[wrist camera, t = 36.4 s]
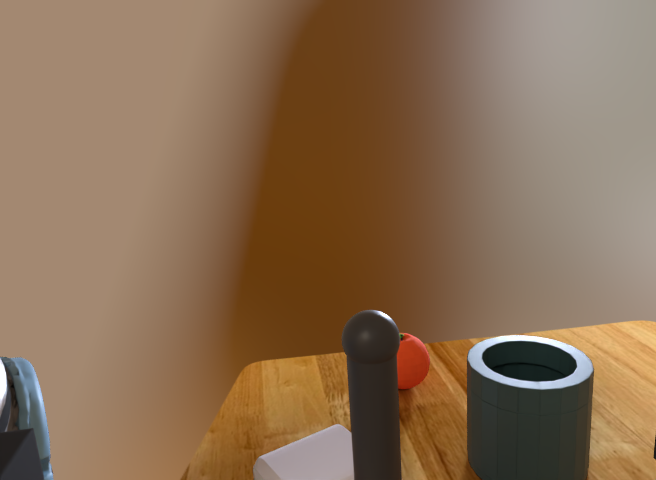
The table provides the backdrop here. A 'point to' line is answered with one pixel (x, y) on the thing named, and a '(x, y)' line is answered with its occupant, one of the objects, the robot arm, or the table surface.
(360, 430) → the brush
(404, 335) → the clementine
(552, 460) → the dark grey pipe sleeve
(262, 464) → the charger
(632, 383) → the table surface
